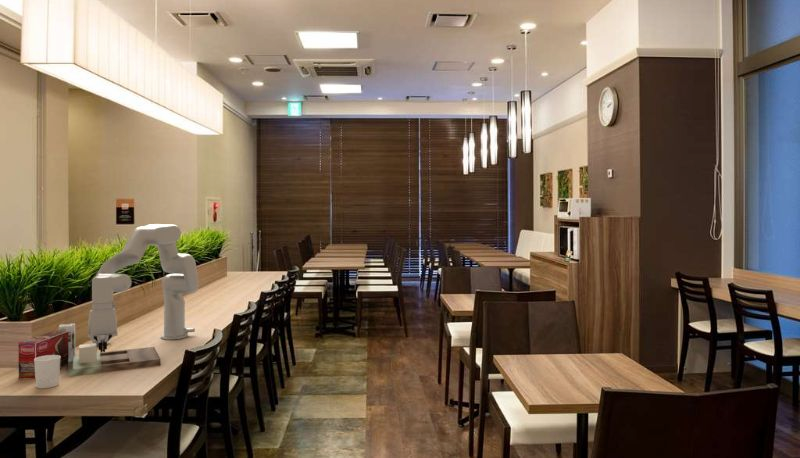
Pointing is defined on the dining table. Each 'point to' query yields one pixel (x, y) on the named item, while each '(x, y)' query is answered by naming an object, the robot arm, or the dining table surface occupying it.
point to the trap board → (114, 361)
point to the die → (101, 339)
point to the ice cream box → (42, 351)
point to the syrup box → (69, 334)
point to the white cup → (47, 371)
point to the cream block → (87, 353)
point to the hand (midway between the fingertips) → (102, 351)
